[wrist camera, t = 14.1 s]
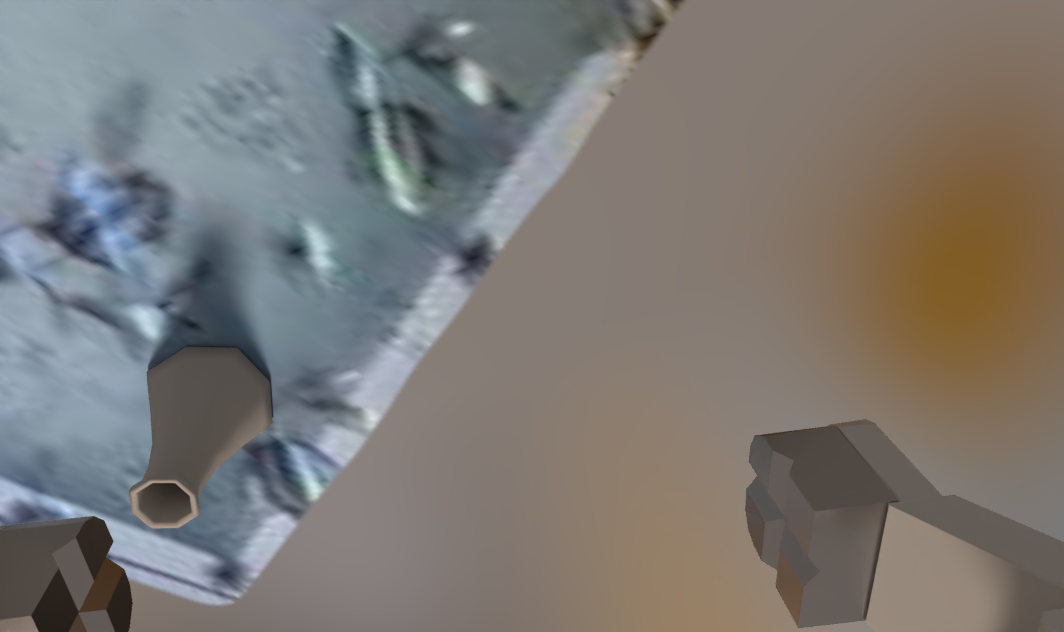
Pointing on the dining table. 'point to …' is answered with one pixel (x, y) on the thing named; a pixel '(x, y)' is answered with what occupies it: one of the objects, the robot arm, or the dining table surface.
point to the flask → (196, 427)
